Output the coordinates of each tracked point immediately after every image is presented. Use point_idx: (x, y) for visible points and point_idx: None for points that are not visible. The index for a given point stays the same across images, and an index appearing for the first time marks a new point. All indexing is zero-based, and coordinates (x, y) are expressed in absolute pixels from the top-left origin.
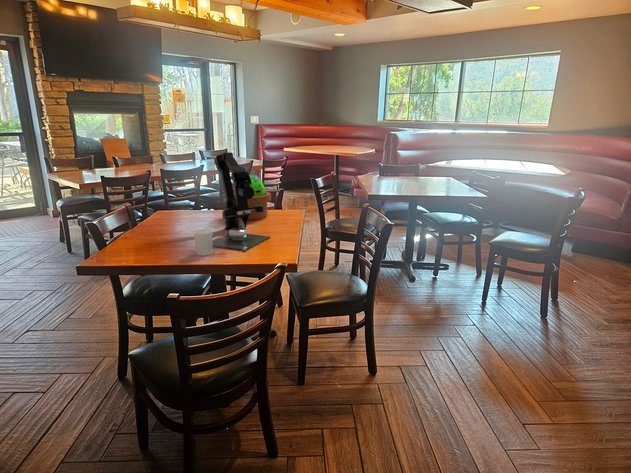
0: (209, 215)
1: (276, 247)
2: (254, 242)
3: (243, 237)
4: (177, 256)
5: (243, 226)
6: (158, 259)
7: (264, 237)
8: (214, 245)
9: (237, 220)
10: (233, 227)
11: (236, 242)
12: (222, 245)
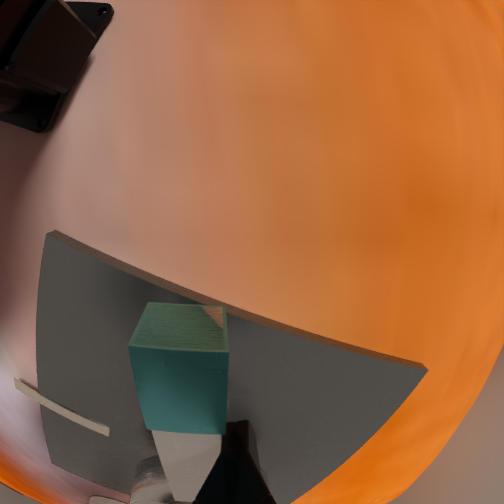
0: None
1: (400, 457)
2: (315, 471)
3: None
4: (58, 496)
5: None
6: (35, 492)
7: (391, 396)
8: (106, 485)
9: (27, 25)
10: (29, 97)
11: None
12: None
